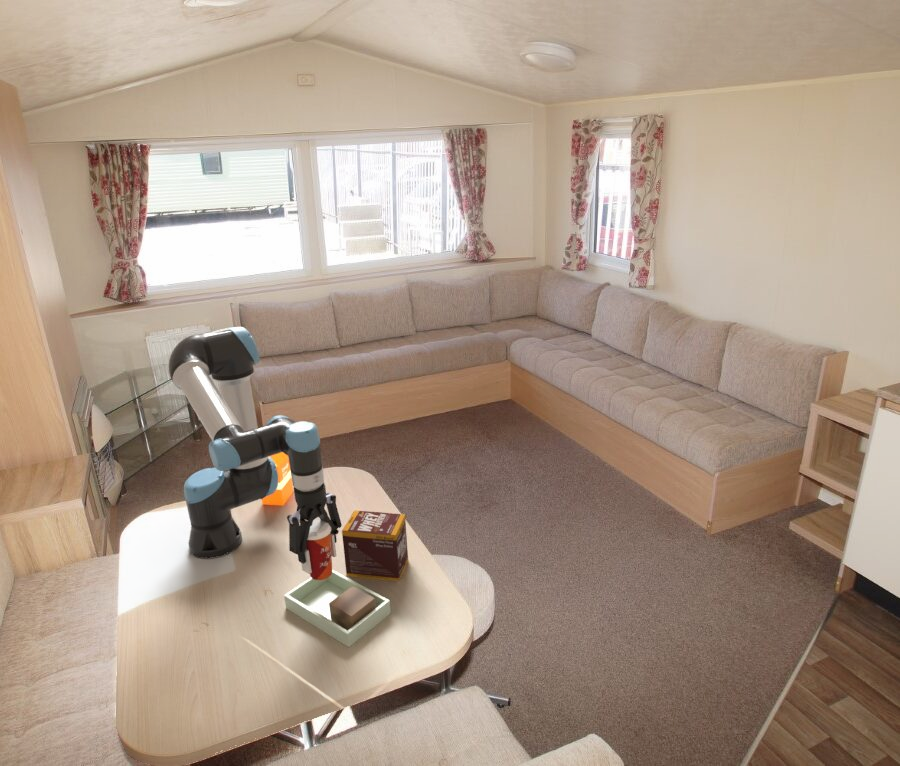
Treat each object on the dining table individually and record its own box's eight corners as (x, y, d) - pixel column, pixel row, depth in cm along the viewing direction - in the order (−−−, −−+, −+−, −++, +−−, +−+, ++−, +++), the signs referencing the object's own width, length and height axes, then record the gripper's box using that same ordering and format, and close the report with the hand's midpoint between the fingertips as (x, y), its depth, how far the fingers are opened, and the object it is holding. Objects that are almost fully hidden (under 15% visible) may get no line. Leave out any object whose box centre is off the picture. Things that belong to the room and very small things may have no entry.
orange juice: (261, 504, 221) (253, 450, 214) (272, 490, 229) (264, 438, 222) (284, 505, 220) (275, 451, 213) (294, 491, 228) (286, 439, 221)
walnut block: (331, 622, 166) (329, 603, 164) (354, 604, 172) (352, 586, 170) (353, 635, 161) (351, 616, 159) (376, 617, 167) (374, 598, 165)
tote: (286, 609, 172) (284, 595, 170) (328, 580, 183) (326, 566, 181) (349, 649, 158) (347, 634, 157) (391, 614, 169) (389, 600, 167)
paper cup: (333, 582, 166) (327, 535, 161) (302, 583, 166) (296, 535, 161) (338, 563, 173) (333, 517, 168) (309, 564, 173) (303, 518, 168)
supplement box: (399, 583, 180) (395, 535, 175) (346, 578, 183) (340, 530, 178) (409, 560, 190) (406, 513, 184) (358, 555, 193) (353, 509, 187)
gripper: (285, 507, 151) (297, 590, 159) (350, 471, 165) (359, 548, 174) (264, 498, 155) (277, 578, 163) (330, 463, 170) (339, 538, 178)
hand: (319, 562), depth 168 cm, fingers closed on paper cup, 8 cm apart
